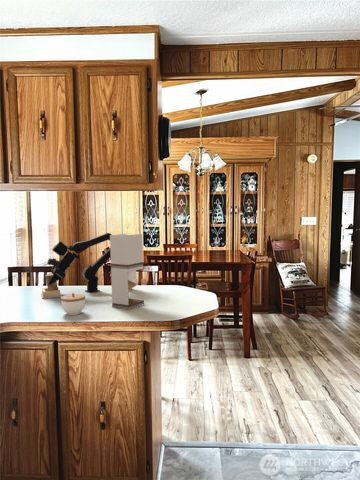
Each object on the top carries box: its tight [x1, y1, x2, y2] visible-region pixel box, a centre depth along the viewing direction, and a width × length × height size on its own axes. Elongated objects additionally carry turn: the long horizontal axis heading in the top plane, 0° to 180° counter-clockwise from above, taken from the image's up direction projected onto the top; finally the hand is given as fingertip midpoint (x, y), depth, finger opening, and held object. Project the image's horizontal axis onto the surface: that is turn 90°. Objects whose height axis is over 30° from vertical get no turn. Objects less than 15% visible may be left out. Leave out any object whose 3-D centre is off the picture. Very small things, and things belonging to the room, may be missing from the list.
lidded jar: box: [60, 292, 86, 316], centre depth 167 cm, size 11×11×9 cm
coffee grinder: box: [109, 233, 145, 311], centre depth 178 cm, size 11×11×35 cm
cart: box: [45, 273, 59, 291], centre depth 205 cm, size 5×6×11 cm
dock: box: [40, 287, 64, 300], centre depth 205 cm, size 11×12×4 cm
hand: (48, 283), depth 204 cm, fingers closed on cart, 5 cm apart
